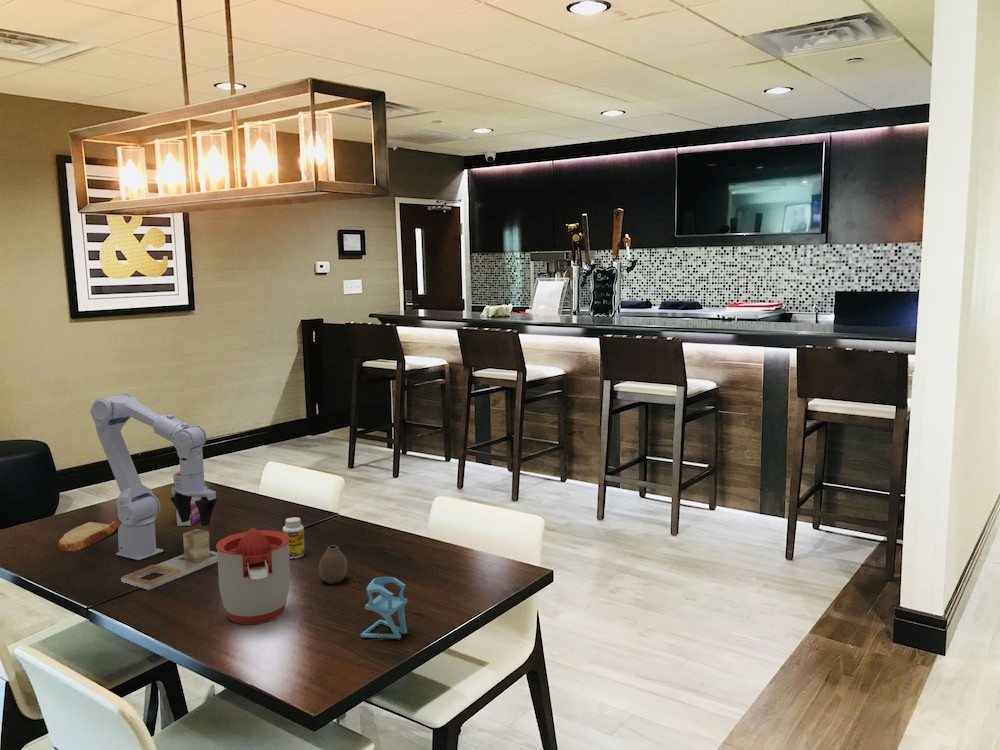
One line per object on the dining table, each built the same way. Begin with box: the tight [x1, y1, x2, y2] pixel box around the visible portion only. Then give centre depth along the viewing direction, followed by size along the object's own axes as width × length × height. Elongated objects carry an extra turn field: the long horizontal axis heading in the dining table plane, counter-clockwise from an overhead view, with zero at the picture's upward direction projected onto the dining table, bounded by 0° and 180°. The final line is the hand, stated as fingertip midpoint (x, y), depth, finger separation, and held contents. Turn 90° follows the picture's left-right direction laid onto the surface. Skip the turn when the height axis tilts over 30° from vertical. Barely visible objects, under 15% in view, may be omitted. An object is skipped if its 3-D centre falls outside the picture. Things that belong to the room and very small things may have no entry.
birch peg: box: [182, 528, 211, 563], centre depth 206 cm, size 4×4×8 cm
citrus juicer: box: [215, 527, 291, 626], centre depth 172 cm, size 16×17×20 cm
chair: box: [360, 576, 408, 639], centre depth 163 cm, size 8×8×12 cm
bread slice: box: [57, 521, 120, 552], centre depth 225 cm, size 18×18×4 cm
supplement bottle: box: [282, 516, 305, 560], centre depth 210 cm, size 6×6×10 cm
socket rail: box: [120, 550, 218, 591], centre depth 200 cm, size 10×24×2 cm, turn 153°
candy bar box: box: [172, 470, 202, 527], centre depth 240 cm, size 11×5×16 cm, turn 179°
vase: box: [318, 544, 348, 585], centre depth 193 cm, size 7×7×9 cm
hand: (195, 523), depth 205 cm, fingers open, 7 cm apart
